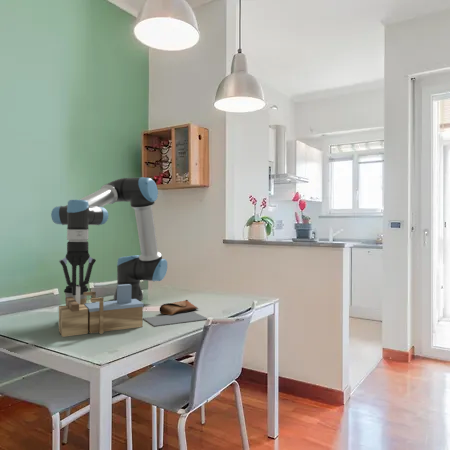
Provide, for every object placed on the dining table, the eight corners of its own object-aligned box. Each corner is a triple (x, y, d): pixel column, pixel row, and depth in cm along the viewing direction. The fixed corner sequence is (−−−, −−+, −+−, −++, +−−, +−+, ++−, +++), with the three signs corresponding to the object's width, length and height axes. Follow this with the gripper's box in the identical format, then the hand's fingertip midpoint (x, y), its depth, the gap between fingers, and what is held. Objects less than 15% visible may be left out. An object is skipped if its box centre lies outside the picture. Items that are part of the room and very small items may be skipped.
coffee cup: (67, 320, 165) (68, 284, 165) (91, 319, 166) (91, 284, 166) (60, 326, 155) (60, 288, 155) (85, 325, 156) (85, 288, 156)
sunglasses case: (172, 314, 172) (167, 300, 174) (163, 321, 176) (157, 307, 178) (200, 308, 186) (194, 295, 188) (190, 314, 190) (185, 301, 192)
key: (65, 303, 154) (65, 297, 154) (72, 302, 155) (72, 296, 155) (71, 311, 140) (71, 305, 140) (79, 311, 141) (79, 304, 141)
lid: (84, 309, 155) (84, 285, 155) (135, 304, 165) (135, 282, 165) (89, 314, 145) (89, 289, 145) (143, 309, 155) (143, 285, 155)
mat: (143, 318, 168) (143, 317, 168) (194, 312, 180) (194, 312, 180) (153, 326, 156) (153, 325, 156) (208, 319, 168) (208, 318, 168)
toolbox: (57, 328, 152) (58, 294, 152) (133, 319, 167) (133, 288, 166) (63, 338, 139) (63, 301, 139) (144, 328, 153) (144, 294, 153)
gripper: (60, 241, 142) (60, 307, 142) (97, 241, 148) (97, 303, 148) (57, 240, 148) (57, 303, 148) (93, 240, 155) (93, 300, 155)
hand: (77, 303), depth 148 cm, fingers closed
